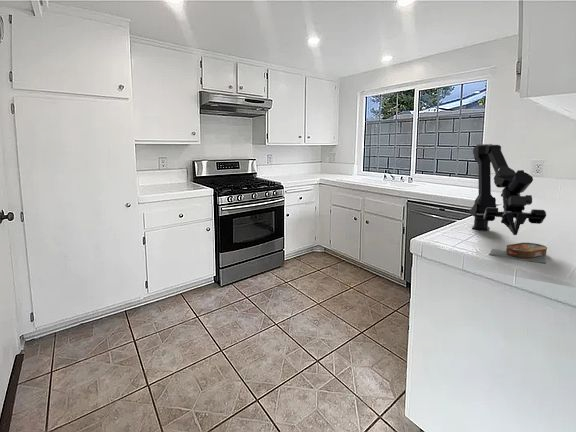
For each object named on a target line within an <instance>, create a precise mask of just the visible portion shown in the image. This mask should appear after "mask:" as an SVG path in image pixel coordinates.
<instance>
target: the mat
mask: <svg viewBox="0 0 576 432" xmlns="http://www.w3.org/2000/svg"><path fill="white" fill-rule="evenodd" d="M489 256H495V257H501V258H507V259H513V260H521V261H527V262H534V263H539V264H546V256H545V255H543V256H538V257H533V258H520V257H516V256H513V255H509V254H507V253H506V250H503V249H496V248H491V250H490V252H489Z"/></svg>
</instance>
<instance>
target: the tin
mask: <svg viewBox="0 0 576 432" xmlns="http://www.w3.org/2000/svg"><path fill="white" fill-rule="evenodd" d="M547 250H548V247H547V246H546V245H544V244H543V245H542V244H540V243H535V242H534V243H533V242H519V243H518V242H517V243H512V244H507V245H506V250H505V251H506V253H507V254H509V255H513V256H516V257H520V258H533V257H538V256H545V255H546V254H547Z"/></svg>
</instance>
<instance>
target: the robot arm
mask: <svg viewBox="0 0 576 432" xmlns="http://www.w3.org/2000/svg"><path fill="white" fill-rule="evenodd" d="M472 154H473V158H474V161H475V162H476V163H477V165H478V167H477V168H478V170H477V171H478V176H477V177H478V178H477V179H478V195H477V197H476V198H475V200H474V204H473V206H471V208H470V211H469V214H470V216H472V217H474V221H473V226H472V227H471V229H472V230H477V231H478V230H481V231H489V229H490V226H489V222H493V221H494V222H495V220H496V218H501V221H500V223H501V224H504V225H505V226H506V227H507V228H508V229H509V231H510V232H511V233H512V235H514V236H517V235H518V233H519V230H520V227H521V225H524V224H525V223H526V220H527V219H528V221H527V222H529V223H530V224H537V225H538V224H539V225H540V224H542V223H543V222H544V221H545V219H546V217H547V212H546V211H545V210H544V209H536V208H535V209H534V208H533V209H531V210H530V212H524V211H525V209H526V208H525V206H527V205H529V206H530V205H532V203H533V196H532V195H530V194H529V195H528V194H526V195H521V193H524V192H525V191H526V190H527V189H528V188H529V186H530V185H531V184H532V182H533V181H534V178H533V176H532V175H530V174H529V173H527V172H525V171H524V169H523V170H522V169H518V170H517V171H515V170H514V169H512V168H511V167H510V166H509V164H508V163H507V160H506V158H505V156H504V154H503V151H502V146H501V145H500V144H492V143H488V144H487V143H484V144H480V143H479V144H476V146H475V147H473V149H472ZM491 165H492V166H491ZM491 167H492V168H493V170H494V174H495V175H494V177H493V183H494V185H495V187H497V188H499V189H501V188H503V189H502V190H501V193H500V197H502V204H503V205H502V208H503V211H499V208H498V207H497V203H496V201H497V199H496V197H494V196H493V195H492V194H491V193H492V191H491V190H492V189H491V187H492V186H491V184H492V183H491V182H492V180H491V179H492V178H491V170H492V169H491ZM514 219H515V220H514Z"/></svg>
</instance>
